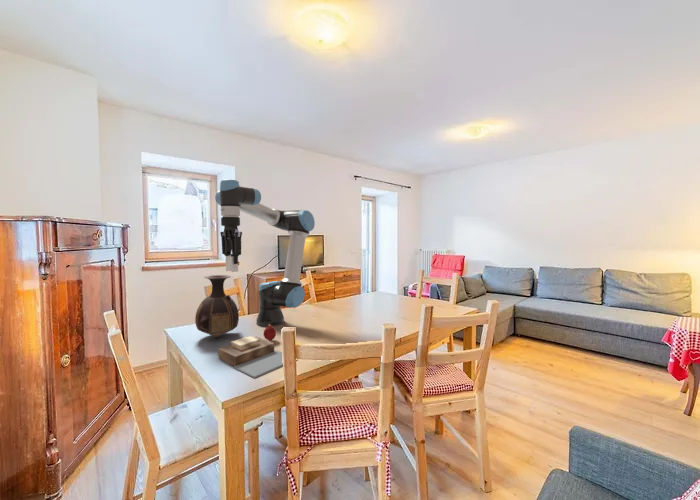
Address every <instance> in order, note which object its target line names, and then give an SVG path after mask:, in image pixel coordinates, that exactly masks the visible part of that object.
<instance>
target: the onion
mask: <svg viewBox="0 0 700 500" xmlns="http://www.w3.org/2000/svg"><path fill="white" fill-rule="evenodd" d="M276 336H277V330H276V328H275V327H274V326H271V325H270V324H269V326H266V327H265V329H264V330H263V337H264V339H265V340H267V341H270V342H272V341H273V340H274V339H275V338H276Z"/></svg>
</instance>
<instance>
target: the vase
mask: <svg viewBox="0 0 700 500" xmlns="http://www.w3.org/2000/svg"><path fill="white" fill-rule="evenodd" d="M203 278H204V279H207V280H209V281H210V282H211V293H210V295H209V296H207V297H206V298H204V299H203V300H201V302H200V304H199V305H198V307H197V310H196V312H195V318H194V320H195V321H194V322H195V327H196V329H197V330H198V331H200V332H202V333H204V334H207V335H210V336H212V337H215V338H218V337H220V336H223V335H224V334H227V333H230V332H231V331H233V330H234V329H236V328H237V327H238V325H239V318H240V317H239V309H238V307H237V304H236V302H235V301H234V299H233V298H232V297H231V295H229V294H228V295H226V293H225V289H224V283H225V281H226V279H229V278H231V275H228V274H216V275H215V274H213V275H212V274H211V275H205V276H204V277H203Z"/></svg>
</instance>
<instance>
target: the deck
mask: <svg viewBox="0 0 700 500" xmlns="http://www.w3.org/2000/svg"><path fill="white" fill-rule="evenodd" d="M254 337H255V338H257V339H260V344H258V345H255V346H252V347H249V348H246V349H243V350H238V349H236V348H234V347H231V344H229V345H226V346H221V347H219V348H218V350H217V351H218V359H219V360H221V361H223V362H225V363H228V364H230V365H232V366H233V367H234V366H237V365H240V364H242V363H245V362H248V361H250V360H253V359H256V358H258V357H261V356H264V355H266V354H269V353H272V352H274V351H275V342H273V341H268V340H267V339H265V338H261V337H259V336H254Z"/></svg>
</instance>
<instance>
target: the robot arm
mask: <svg viewBox="0 0 700 500" xmlns="http://www.w3.org/2000/svg"><path fill="white" fill-rule="evenodd" d="M214 197H215V198H214V199H215V201H216V204H218V205H219V206H220V216H222V217H221V218H220V224H221V226H222V227H223V231H220V237H221V239H220V240H221V254H222V255H224V257H225V271H226V272H231V273H235V272H239V256H241V255H242V236H243V232H242V231H239V229H238V227H239V226H241V218H240V216H241V212H242V213H245V214H247V215H250V216H251V217H255V218H257V219H259V220H261V221H264V222H267V224H268V225H270V226H271V227H274V228H277V229H280V230H282V231H286V232H287V233H288V235H289V240H288V242H289V243H288V248H287V255H286V260H285V261H286V262H285V267H284V275H283V278H282V279H281V280H280V281H278V280H274V281H267V282H261V283H260V284H259V286H258V302H259V303H258V304H259V307H258V308H259V310H258V312H257V313H258V314H257V317H256V325H258V326H260V327H268V326H269V324H270V325H271V326H272V327H274V326H279V325H282V324H284V322H285V317H284V314H283V311H282V308H281V307H283V308H289V309H292V308H293V309H296V308H298V307H300V306H301V305H302V303H303V302H304V300H305V296H306V292H305V289H304V288H303V283H302V281H300V280H301V274H302V273H301V272H302V265H303V258H304V257H303V256H304V252H305V246H306V245H305V244H306V239H307V237H309V236H310V232H312V231H313V230H314V229H315V217H314V215H313V214H312V213H311V212H310V211H309V210H306V209H299V210H279V209H277V208H270V207H268V206H266V205H265V204H262V203H261V200H262V194H261V192H260V190H259V189H257V188H253V187H245V186H240V182H239V181H238V180H236V179H221V180H220V183H219V190H217V192H216V193H215V196H214Z"/></svg>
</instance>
